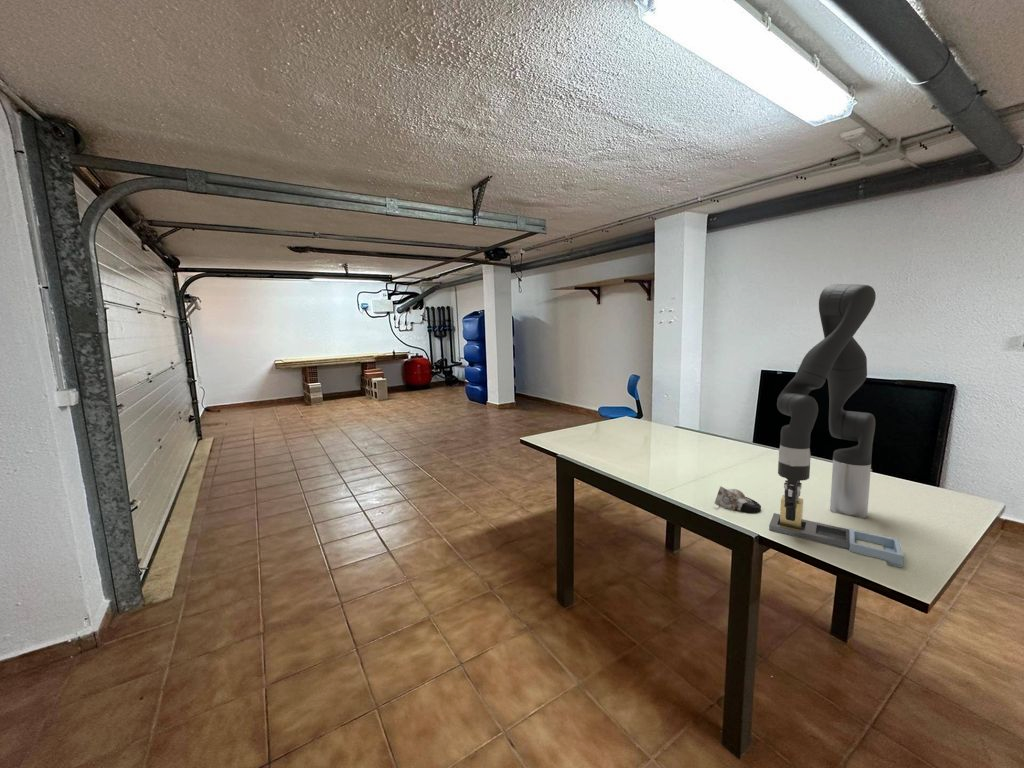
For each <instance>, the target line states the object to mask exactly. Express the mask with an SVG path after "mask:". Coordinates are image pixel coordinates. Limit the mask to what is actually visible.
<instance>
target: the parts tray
mask: <svg viewBox="0 0 1024 768" xmlns="http://www.w3.org/2000/svg"><path fill="white" fill-rule="evenodd" d="M849 536H850V547H849V549H848V550H849V552H853V553H856V554H860V555H863V556H869V557H872V558H877V559H880V560H885V561H886V564H887V565H888V566H889V565H890V566H894V567H898V568H903V563H904V554H903V550H902V545H901V542H900V538H899V539H898V538H896V537H895V538H894V537H889V536H885V535H879V534H876V533H871V532H865V531H861V530H858V529H857V530H856V529H851V528H849ZM856 540H860V541H863V542H868V543H872V544H876V545H881V546H882V547H883V549H882V548H877V547H874V546H870V545H866V544H865V545H864V544H860V543H857V542H856Z"/></svg>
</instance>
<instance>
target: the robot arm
mask: <svg viewBox="0 0 1024 768" xmlns="http://www.w3.org/2000/svg"><path fill="white" fill-rule="evenodd" d="M876 296H877V295H876V291H875V288H874V287H873V286H870V285H869V284H855V283H853V284H851V283H850V284H848V283H847V284H845V283H844V284H842V283H840V284H839V283H834V284H829V285H827V286H825V287H824V288H823V290H822V291H821V293H820V294H819V298H818V311H819V318H820V323H821V326H822V331H823V337H824V338H823V339H822V340H820V342H818V343H817V344H815V345H814V346H813V347H812V348H811V349H810V350H808V352H807V353H806V354H805V356H804V357H803V358H802V361H801V363H800V365H799V367H798V369H797V371H796V373H795V375H794V377H793V378H792V379H791V380H790V381H789V382H788V383H787V385H786V386H784V388H783V389H782V391H780V393H779V395H778V397H777V402H776V407H777V410H778V411H779V412H780V413H781V414H782V415H785V416H788V417H791V418H790V421H789V424H785V425H783V426H782V427H781V428H780V429H781V430H780V442H779V449H778V462H777V463H778V464H777V474H778V476H779V477H781V478H783V479H786V480H785V481H784V483H783V489H784V494H783V495H784V498H785V504H784V506H785V507H786V519H787V520H790V521H795V511H796V508H797V506H796V502H797V501H799V498H800V497H801V491H802V487H803V485H802V481H807V480H809V479H810V475H811V474H810V473H811V471H810V470H811V457H812V456H811V455H812V454H811V448H810V447H811V433H812V430H813V429H814V426H815V424H816V420H817V418H818V414H819V405H818V402H817V401H816V399H815V397H813V396H811V395H809V394H810V393H811V391H813V390H817V389H818V390H819V389H821V388H822V387H823V386H824V384H825V383H826V380H827V385H828V398H829V403H828V405H829V407H828V431H829V434H830V436H831V437H832V438H835V439H840V440H846V441H852V442H853V441H854V442H858V444H857V445H854V446H851V447H845V448H844V447H843V448H838V449H835V450H834V451H833V454H832V469H831V470H832V472H831V485H830V486H831V487H830V488H831V489H830V500H829V501H830V503H829V511H831V512H832V513H833V514H838V515H844V516H849V517H854V518H858V519H866V518H868V512H869V511H868V510H869V499H870V498H869V497H870V486H871V484H870V483H871V471H872V458H873V457H872V455H873V446H874V445H873V443H874V437H875V433H876V431H875V430H876V418H875V416H874V414H872V413H870V412H864V411H863V412H862V411H852V410H844V405H845V403H846V402H847V401H848V399H850V398H851V396H852V395H853V394H854V393H856V391H857V390H859V388H861V386H863V384H864V383H865V381H866V379H867V378H868V361H867V359H868V358H867V355H866V353H865V351H864V350H863V348H862V347H861V346H860V344H859V343H858V342H857V340H856V339H855V337H854V336H855V334H856V333H857V332H858V330H859V328H860V327H861V326H862V325H863V323H864V322H865V320H866V319H867V317H868V316H869V314H870V313H871V312H872V309H873V307H874V305H875V301H876V298H877V297H876ZM788 501H789V502H793V504H788Z"/></svg>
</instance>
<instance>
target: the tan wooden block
mask: <svg viewBox="0 0 1024 768" xmlns="http://www.w3.org/2000/svg"><path fill="white" fill-rule="evenodd" d="M784 504H785V498H784V494H783V495H782V497H781V500H780V510H779V512H780V513H779V514H780V525H782V526H786V527H790V528H794V529H799V530H801V527H802V519H803V515H804V514H803V513H804V498H801V497H799V501H797V502H796V506H797V508H796V511H795V521H790V520H787V519H786V507H785V506H784ZM788 504H793V502H789V501H788Z"/></svg>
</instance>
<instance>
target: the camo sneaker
mask: <svg viewBox="0 0 1024 768" xmlns="http://www.w3.org/2000/svg"><path fill="white" fill-rule="evenodd" d="M714 505H716V506H718V507H721V508H724V509H726V510H730V511H733V512H735V510H737V511H739V512H740V511H741V512H743V513H745V514H747V513H748V514H757V513H760V511H761V508H762V505H761V504H760V503H759V502H757V501H755V500H754V499H752V498H750V497H748V496H745V494H744V493H743V492H742V491H741V490H739V489H736V488H728V489H727V488H725V487H723V486H722V485H721V486H720V487H719V489H718V491H717V495H716V497H715V501H714Z"/></svg>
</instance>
